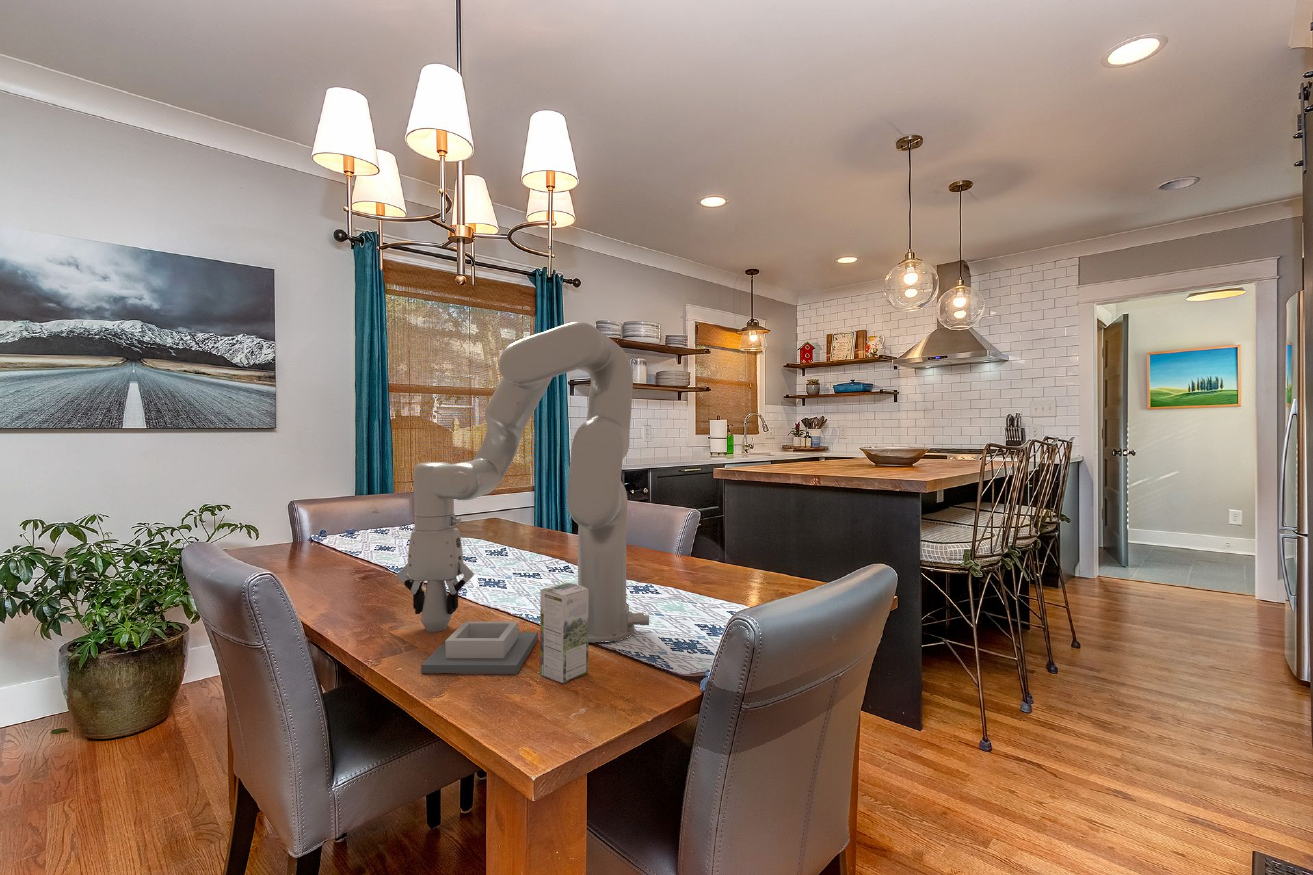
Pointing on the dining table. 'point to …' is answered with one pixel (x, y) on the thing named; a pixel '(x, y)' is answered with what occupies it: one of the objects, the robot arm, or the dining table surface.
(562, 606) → the syrup box
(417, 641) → the dining table surface
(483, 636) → the grey square base
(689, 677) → the dining table surface
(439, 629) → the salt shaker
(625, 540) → the robot arm
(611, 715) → the dining table surface
